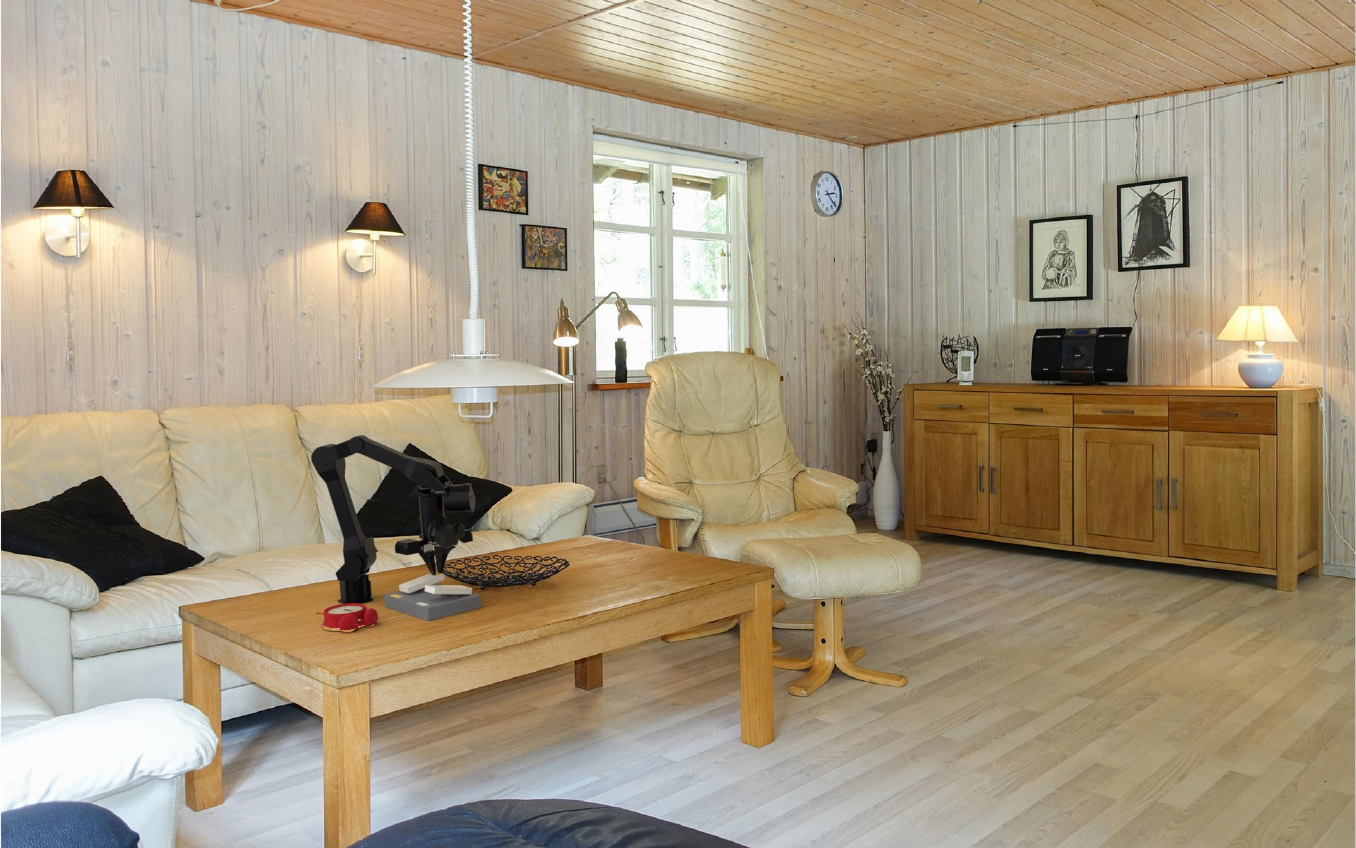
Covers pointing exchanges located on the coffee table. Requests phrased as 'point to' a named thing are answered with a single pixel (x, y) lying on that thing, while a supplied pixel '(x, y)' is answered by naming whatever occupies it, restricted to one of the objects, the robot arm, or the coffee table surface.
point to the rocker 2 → (448, 589)
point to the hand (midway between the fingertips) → (437, 576)
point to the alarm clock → (349, 616)
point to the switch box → (431, 603)
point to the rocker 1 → (421, 582)
